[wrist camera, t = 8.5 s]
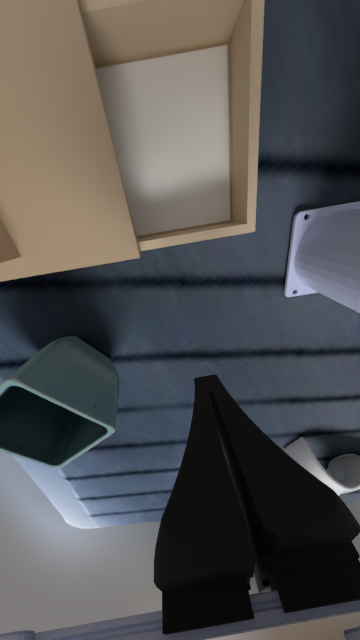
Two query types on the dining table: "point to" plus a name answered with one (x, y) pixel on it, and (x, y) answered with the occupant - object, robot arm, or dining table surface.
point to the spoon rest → (341, 471)
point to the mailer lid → (56, 148)
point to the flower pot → (59, 403)
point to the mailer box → (182, 111)
